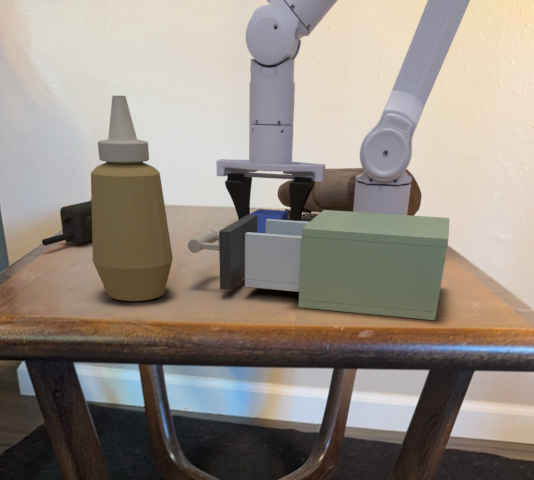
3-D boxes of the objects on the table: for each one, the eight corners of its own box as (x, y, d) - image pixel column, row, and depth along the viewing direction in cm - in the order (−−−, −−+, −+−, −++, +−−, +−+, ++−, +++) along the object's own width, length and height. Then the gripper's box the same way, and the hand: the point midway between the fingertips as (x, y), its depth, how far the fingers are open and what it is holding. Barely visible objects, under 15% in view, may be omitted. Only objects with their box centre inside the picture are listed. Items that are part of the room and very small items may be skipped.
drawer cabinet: (298, 307, 63) (302, 228, 59) (318, 279, 73) (323, 209, 69) (435, 320, 61) (448, 238, 57) (437, 289, 70) (449, 217, 66)
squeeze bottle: (80, 298, 64) (52, 94, 55) (130, 281, 71) (112, 94, 61) (143, 310, 61) (126, 96, 52) (189, 291, 67) (181, 97, 58)
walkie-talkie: (98, 197, 91) (29, 212, 79) (118, 200, 90) (51, 215, 78) (101, 232, 94) (35, 252, 82) (121, 235, 93) (57, 255, 81)
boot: (426, 177, 109) (340, 184, 119) (363, 145, 91) (267, 156, 100) (420, 228, 111) (336, 230, 121) (358, 206, 93) (265, 211, 102)
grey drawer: (181, 285, 66) (179, 227, 63) (213, 264, 75) (212, 212, 72) (338, 300, 63) (343, 239, 60) (352, 275, 71) (357, 221, 68)
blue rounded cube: (257, 241, 91) (258, 209, 88) (287, 243, 90) (288, 210, 88) (249, 247, 87) (249, 213, 85) (280, 249, 86) (281, 215, 84)
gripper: (332, 125, 83) (324, 233, 90) (227, 121, 85) (228, 226, 93) (322, 127, 77) (315, 243, 84) (210, 123, 80) (212, 235, 87)
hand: (268, 235), depth 88 cm, fingers open, 6 cm apart
